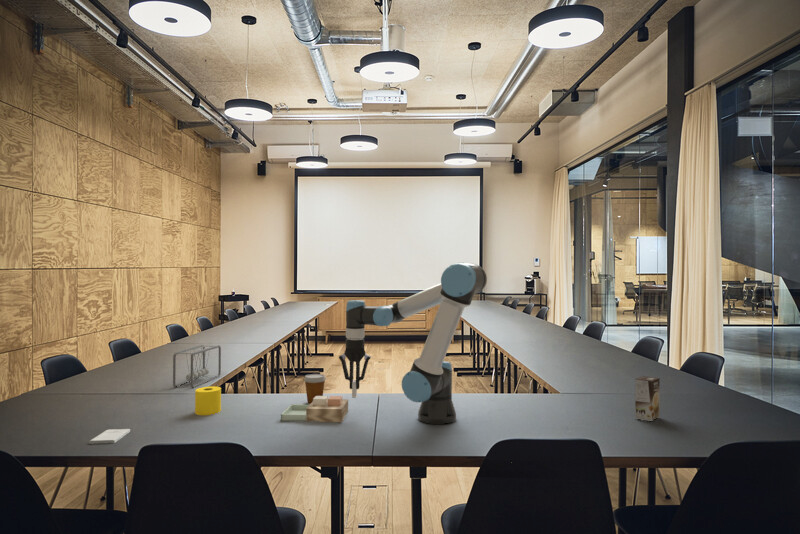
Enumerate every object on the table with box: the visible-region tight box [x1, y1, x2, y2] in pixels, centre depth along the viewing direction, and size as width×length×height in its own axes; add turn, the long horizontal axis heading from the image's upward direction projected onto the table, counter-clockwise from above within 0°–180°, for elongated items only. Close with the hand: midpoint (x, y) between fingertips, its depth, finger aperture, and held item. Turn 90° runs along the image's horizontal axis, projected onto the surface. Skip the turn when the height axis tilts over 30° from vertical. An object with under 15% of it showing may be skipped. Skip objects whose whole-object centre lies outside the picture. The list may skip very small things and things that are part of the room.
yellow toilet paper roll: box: [194, 386, 222, 416], centre depth 206 cm, size 10×10×9 cm
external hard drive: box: [88, 428, 131, 445], centre depth 174 cm, size 2×8×12 cm
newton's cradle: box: [172, 344, 222, 389], centre depth 262 cm, size 30×10×18 cm, turn 173°
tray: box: [280, 403, 310, 422], centre depth 201 cm, size 10×15×2 cm, turn 177°
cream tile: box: [313, 395, 329, 405], centre depth 200 cm, size 5×5×2 cm
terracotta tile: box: [328, 395, 344, 406], centre depth 200 cm, size 5×5×2 cm
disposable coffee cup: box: [303, 373, 327, 405], centre depth 220 cm, size 10×10×12 cm
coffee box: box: [634, 375, 661, 421], centre depth 198 cm, size 9×6×16 cm
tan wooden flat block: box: [305, 398, 349, 423], centre depth 200 cm, size 14×15×5 cm
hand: (354, 397), depth 199 cm, fingers closed
